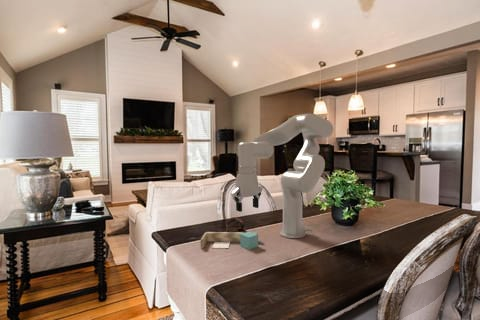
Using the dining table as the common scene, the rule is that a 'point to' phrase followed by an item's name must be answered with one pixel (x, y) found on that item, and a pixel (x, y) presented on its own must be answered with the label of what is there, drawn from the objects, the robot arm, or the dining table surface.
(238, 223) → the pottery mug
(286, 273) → the dining table surface
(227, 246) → the pad
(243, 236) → the cube
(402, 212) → the dining table surface
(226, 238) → the wooden l-shaped bar
